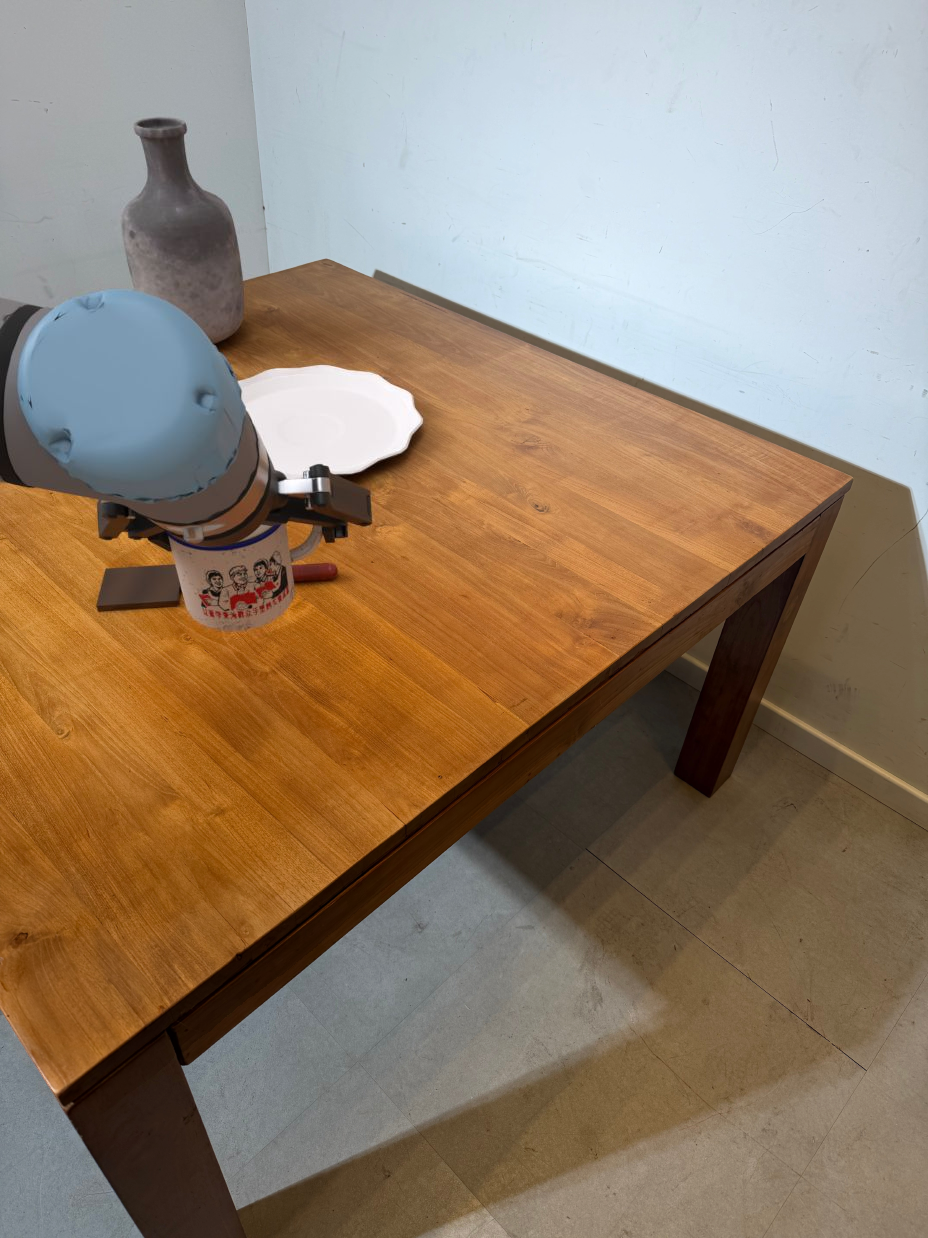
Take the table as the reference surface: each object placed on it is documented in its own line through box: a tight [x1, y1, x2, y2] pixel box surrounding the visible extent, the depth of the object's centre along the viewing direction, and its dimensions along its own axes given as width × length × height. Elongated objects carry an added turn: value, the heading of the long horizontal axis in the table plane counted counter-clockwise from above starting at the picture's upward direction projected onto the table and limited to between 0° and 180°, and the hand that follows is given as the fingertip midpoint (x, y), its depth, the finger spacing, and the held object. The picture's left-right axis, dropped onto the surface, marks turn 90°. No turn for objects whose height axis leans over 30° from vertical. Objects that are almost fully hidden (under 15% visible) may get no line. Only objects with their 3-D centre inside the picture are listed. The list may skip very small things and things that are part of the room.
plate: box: [237, 364, 424, 479], centre depth 111 cm, size 29×29×2 cm
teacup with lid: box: [165, 523, 324, 632], centre depth 64 cm, size 12×9×12 cm
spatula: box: [95, 562, 339, 612], centre depth 88 cm, size 24×6×2 cm, turn 99°
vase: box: [120, 116, 245, 345], centre depth 121 cm, size 16×16×30 cm
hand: (251, 530), depth 67 cm, fingers closed on teacup with lid, 12 cm apart
